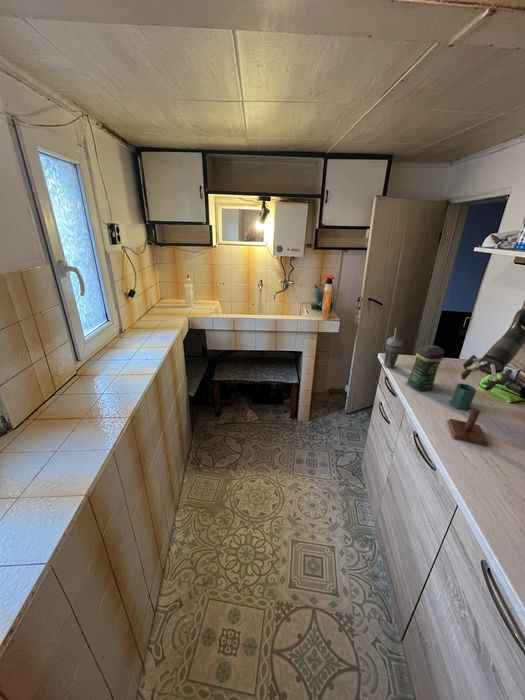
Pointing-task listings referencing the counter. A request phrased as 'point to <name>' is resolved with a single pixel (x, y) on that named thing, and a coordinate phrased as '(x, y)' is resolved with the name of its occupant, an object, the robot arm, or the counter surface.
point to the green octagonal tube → (463, 396)
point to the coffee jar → (425, 367)
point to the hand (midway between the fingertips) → (473, 383)
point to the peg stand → (468, 429)
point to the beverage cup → (392, 350)
